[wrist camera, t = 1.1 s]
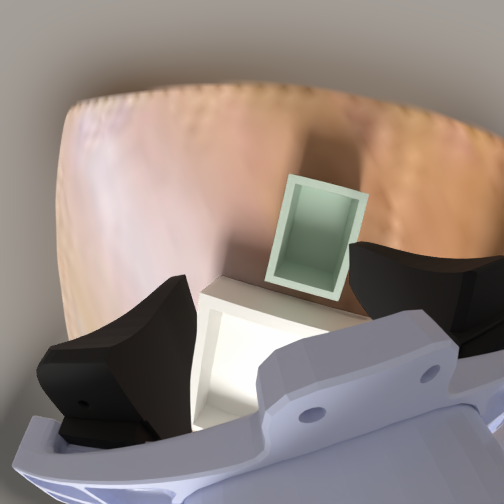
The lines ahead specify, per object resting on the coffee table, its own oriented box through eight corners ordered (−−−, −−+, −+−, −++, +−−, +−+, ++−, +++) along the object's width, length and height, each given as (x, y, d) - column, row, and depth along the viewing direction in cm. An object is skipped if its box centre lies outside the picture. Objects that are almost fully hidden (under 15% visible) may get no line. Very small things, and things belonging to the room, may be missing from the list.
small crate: (359, 194, 20) (368, 194, 16) (336, 278, 22) (338, 301, 17) (297, 177, 21) (289, 173, 17) (277, 262, 23) (264, 280, 18)
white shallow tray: (376, 319, 22) (384, 345, 18) (317, 437, 26) (312, 466, 22) (221, 275, 25) (199, 292, 20) (200, 401, 29) (183, 426, 25)
